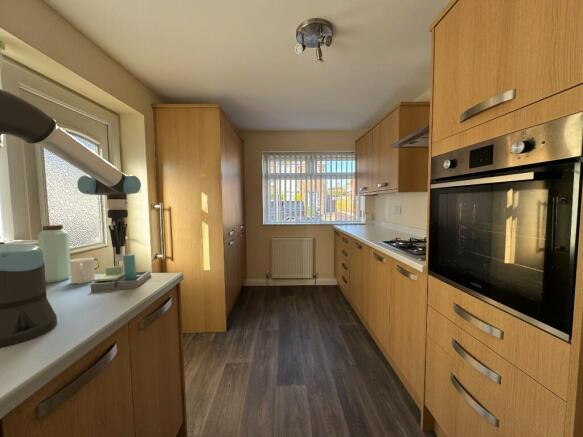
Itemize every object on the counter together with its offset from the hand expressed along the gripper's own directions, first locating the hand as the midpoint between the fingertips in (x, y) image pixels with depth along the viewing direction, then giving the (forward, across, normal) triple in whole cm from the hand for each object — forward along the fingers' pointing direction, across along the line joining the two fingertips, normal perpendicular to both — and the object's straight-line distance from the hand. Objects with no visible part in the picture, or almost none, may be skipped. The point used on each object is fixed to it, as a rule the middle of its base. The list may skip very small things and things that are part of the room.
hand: (119, 260), depth 114 cm
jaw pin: (+8, -10, -8) cm, 15 cm away
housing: (+9, -7, -4) cm, 12 cm away
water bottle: (+9, +7, +29) cm, 31 cm away
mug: (+9, 0, +15) cm, 17 cm away
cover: (+5, -9, 0) cm, 11 cm away
